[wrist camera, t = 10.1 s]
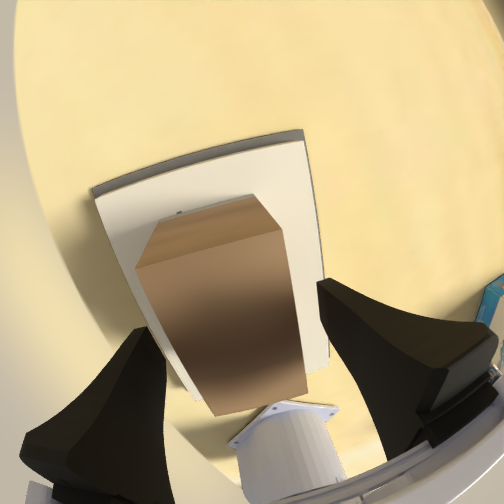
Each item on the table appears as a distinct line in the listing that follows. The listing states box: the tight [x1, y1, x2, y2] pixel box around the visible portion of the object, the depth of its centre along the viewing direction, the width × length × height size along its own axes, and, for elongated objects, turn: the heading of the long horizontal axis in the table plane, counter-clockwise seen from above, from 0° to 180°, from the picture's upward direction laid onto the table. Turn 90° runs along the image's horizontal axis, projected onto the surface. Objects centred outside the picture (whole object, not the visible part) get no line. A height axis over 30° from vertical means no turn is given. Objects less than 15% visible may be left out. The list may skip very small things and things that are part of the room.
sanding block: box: [135, 194, 308, 417], centre depth 12 cm, size 8×4×5 cm, turn 13°
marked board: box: [92, 129, 330, 401], centre depth 15 cm, size 16×11×2 cm
